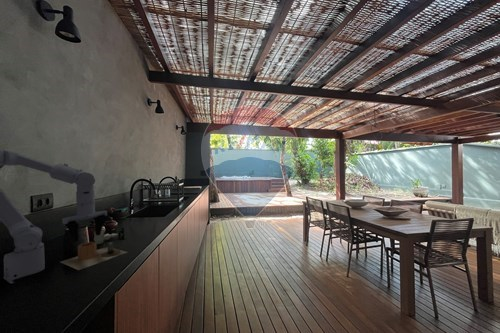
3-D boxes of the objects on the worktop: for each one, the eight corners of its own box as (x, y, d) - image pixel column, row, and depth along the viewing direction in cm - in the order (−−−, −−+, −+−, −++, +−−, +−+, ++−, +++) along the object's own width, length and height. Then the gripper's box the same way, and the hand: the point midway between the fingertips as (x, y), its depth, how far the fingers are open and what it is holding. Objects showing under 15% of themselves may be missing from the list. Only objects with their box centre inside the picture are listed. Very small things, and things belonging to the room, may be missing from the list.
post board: (78, 273, 74) (78, 256, 74) (59, 264, 81) (59, 249, 81) (127, 254, 89) (127, 241, 89) (107, 248, 96) (107, 236, 96)
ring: (82, 261, 81) (82, 247, 81) (76, 258, 84) (75, 245, 84) (99, 255, 86) (98, 243, 86) (92, 253, 89) (91, 241, 89)
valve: (94, 248, 98) (124, 241, 105) (93, 233, 98) (124, 228, 105) (94, 244, 103) (123, 238, 111) (93, 230, 103) (122, 225, 111)
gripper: (67, 207, 77) (69, 245, 77) (110, 200, 89) (112, 233, 89) (59, 205, 80) (60, 242, 80) (101, 199, 93) (103, 231, 93)
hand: (87, 237), depth 85 cm, fingers open, 7 cm apart
